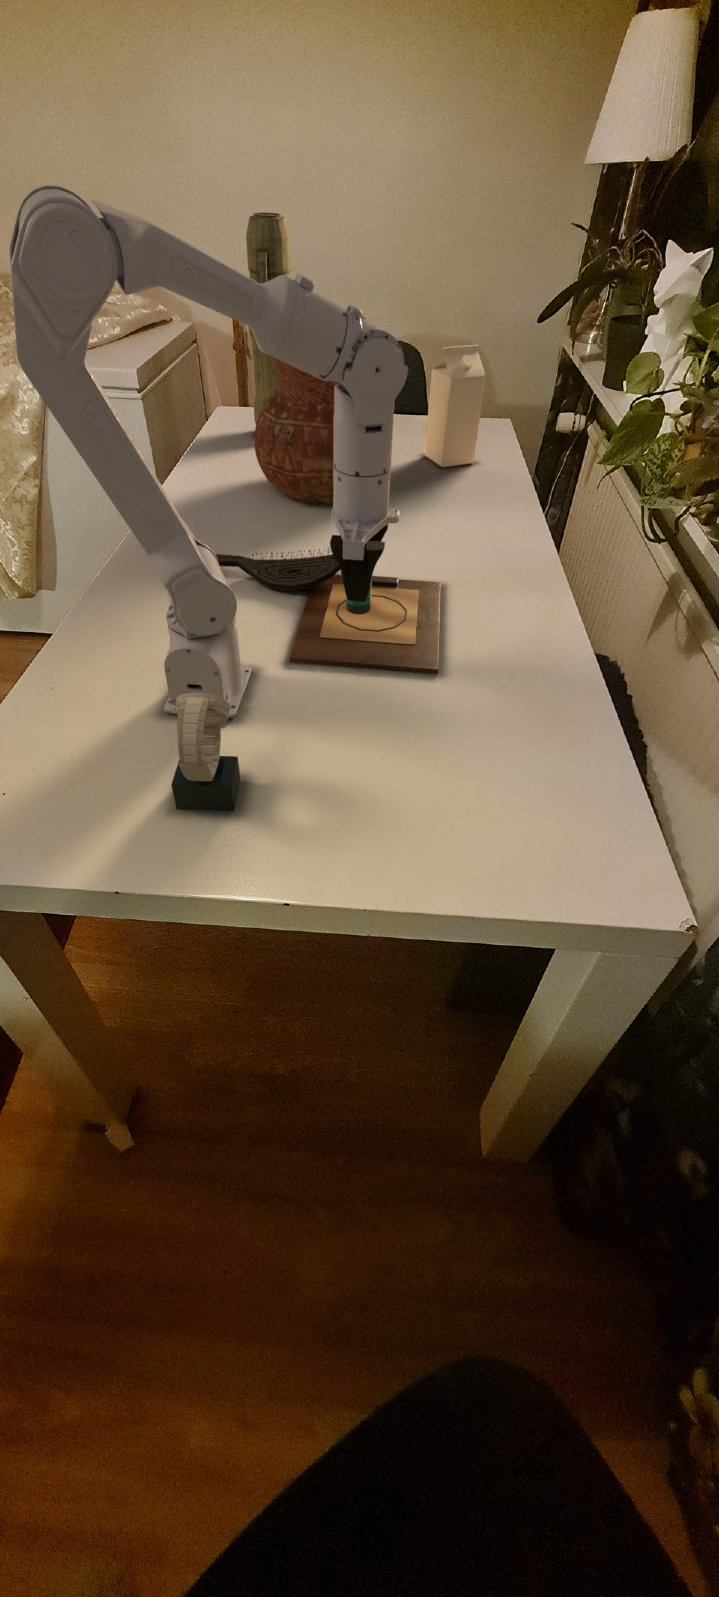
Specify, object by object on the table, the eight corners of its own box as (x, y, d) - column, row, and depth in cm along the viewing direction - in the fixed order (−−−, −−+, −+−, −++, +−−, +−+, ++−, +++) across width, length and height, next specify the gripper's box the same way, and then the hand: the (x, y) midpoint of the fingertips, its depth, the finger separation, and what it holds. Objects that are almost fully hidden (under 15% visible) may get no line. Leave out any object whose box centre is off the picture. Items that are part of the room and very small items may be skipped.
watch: (243, 767, 72) (232, 676, 64) (231, 824, 66) (218, 732, 58) (187, 765, 72) (171, 674, 64) (171, 822, 66) (150, 730, 58)
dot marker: (370, 616, 80) (372, 556, 75) (343, 613, 80) (344, 554, 75) (372, 602, 82) (375, 544, 77) (346, 600, 82) (347, 542, 77)
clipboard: (437, 673, 85) (438, 665, 84) (289, 661, 86) (289, 653, 85) (440, 585, 100) (441, 578, 100) (314, 576, 101) (314, 568, 100)
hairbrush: (177, 538, 103) (347, 539, 99) (183, 562, 105) (349, 564, 102) (158, 564, 97) (338, 566, 93) (165, 589, 99) (340, 592, 96)
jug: (367, 519, 116) (374, 342, 98) (243, 507, 118) (228, 331, 100) (384, 471, 132) (393, 311, 114) (275, 461, 134) (267, 302, 116)
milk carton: (423, 455, 138) (433, 342, 125) (455, 451, 141) (468, 339, 127) (441, 468, 134) (454, 352, 121) (473, 463, 136) (489, 349, 123)
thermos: (302, 426, 149) (296, 211, 124) (296, 445, 140) (289, 218, 116) (260, 424, 149) (246, 209, 124) (251, 443, 140) (235, 216, 116)
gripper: (397, 497, 65) (389, 628, 74) (406, 444, 75) (397, 565, 85) (321, 492, 65) (322, 623, 75) (340, 440, 75) (339, 560, 85)
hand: (358, 592), depth 80 cm, fingers closed on dot marker, 3 cm apart
